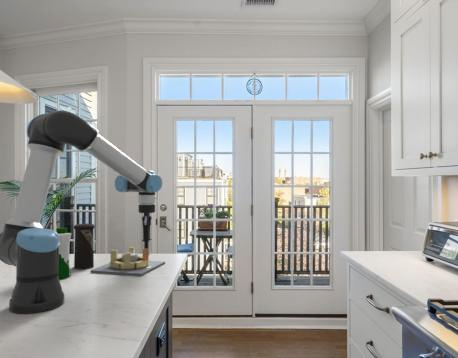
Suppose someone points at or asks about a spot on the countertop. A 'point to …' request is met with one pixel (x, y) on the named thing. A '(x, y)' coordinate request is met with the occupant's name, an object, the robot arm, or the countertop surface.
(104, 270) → the slate plate
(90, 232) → the container
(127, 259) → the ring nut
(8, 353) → the countertop surface
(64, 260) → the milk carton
